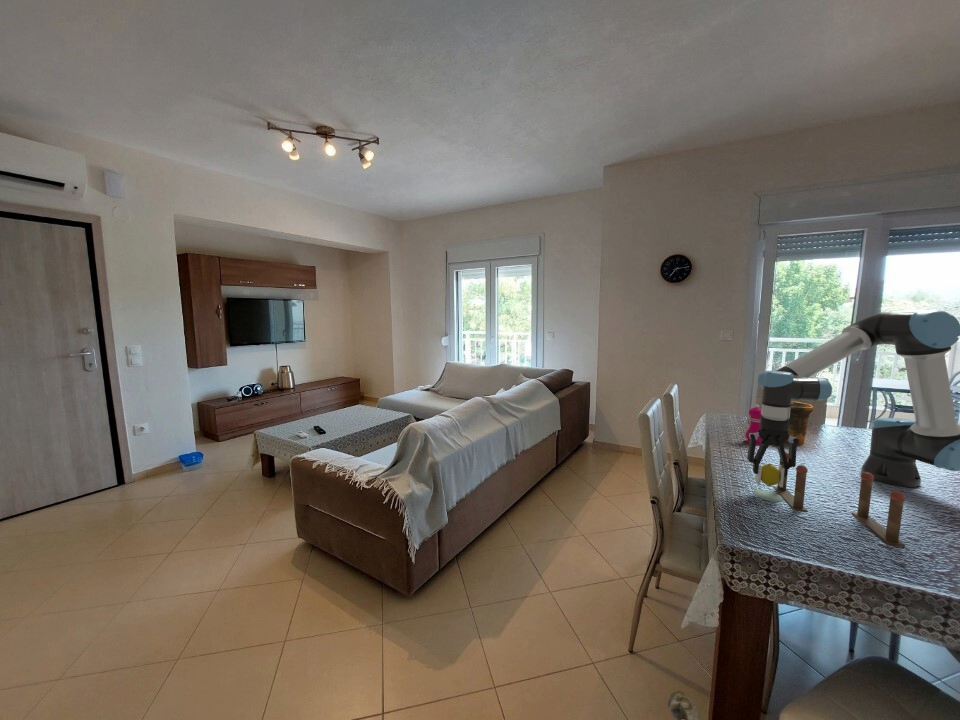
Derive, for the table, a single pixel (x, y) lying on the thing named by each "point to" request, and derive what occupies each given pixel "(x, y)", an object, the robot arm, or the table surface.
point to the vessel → (799, 420)
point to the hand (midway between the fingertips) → (768, 483)
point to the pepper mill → (754, 423)
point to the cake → (683, 706)
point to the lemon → (770, 475)
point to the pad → (768, 495)
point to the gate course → (862, 515)
